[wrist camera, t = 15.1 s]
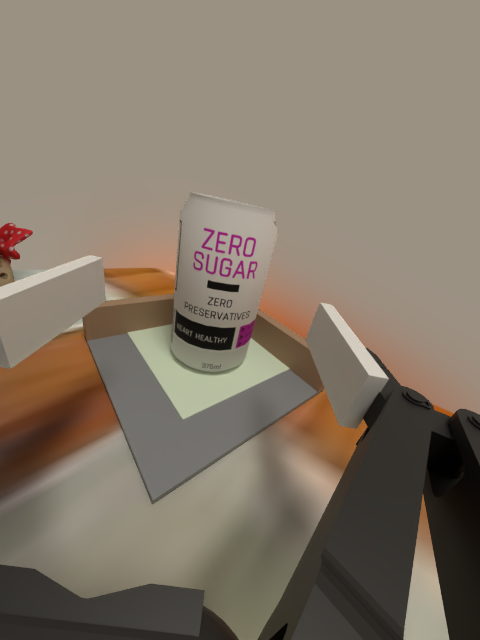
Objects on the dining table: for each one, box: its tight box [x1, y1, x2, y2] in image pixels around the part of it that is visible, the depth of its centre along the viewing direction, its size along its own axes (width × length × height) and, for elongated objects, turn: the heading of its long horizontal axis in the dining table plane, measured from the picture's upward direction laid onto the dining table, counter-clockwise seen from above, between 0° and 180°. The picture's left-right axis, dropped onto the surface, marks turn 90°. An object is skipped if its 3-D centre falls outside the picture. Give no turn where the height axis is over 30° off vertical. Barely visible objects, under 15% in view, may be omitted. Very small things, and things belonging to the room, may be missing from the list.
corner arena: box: [83, 294, 324, 504], centre depth 24 cm, size 18×18×4 cm
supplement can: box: [171, 192, 278, 372], centre depth 22 cm, size 8×8×15 cm
